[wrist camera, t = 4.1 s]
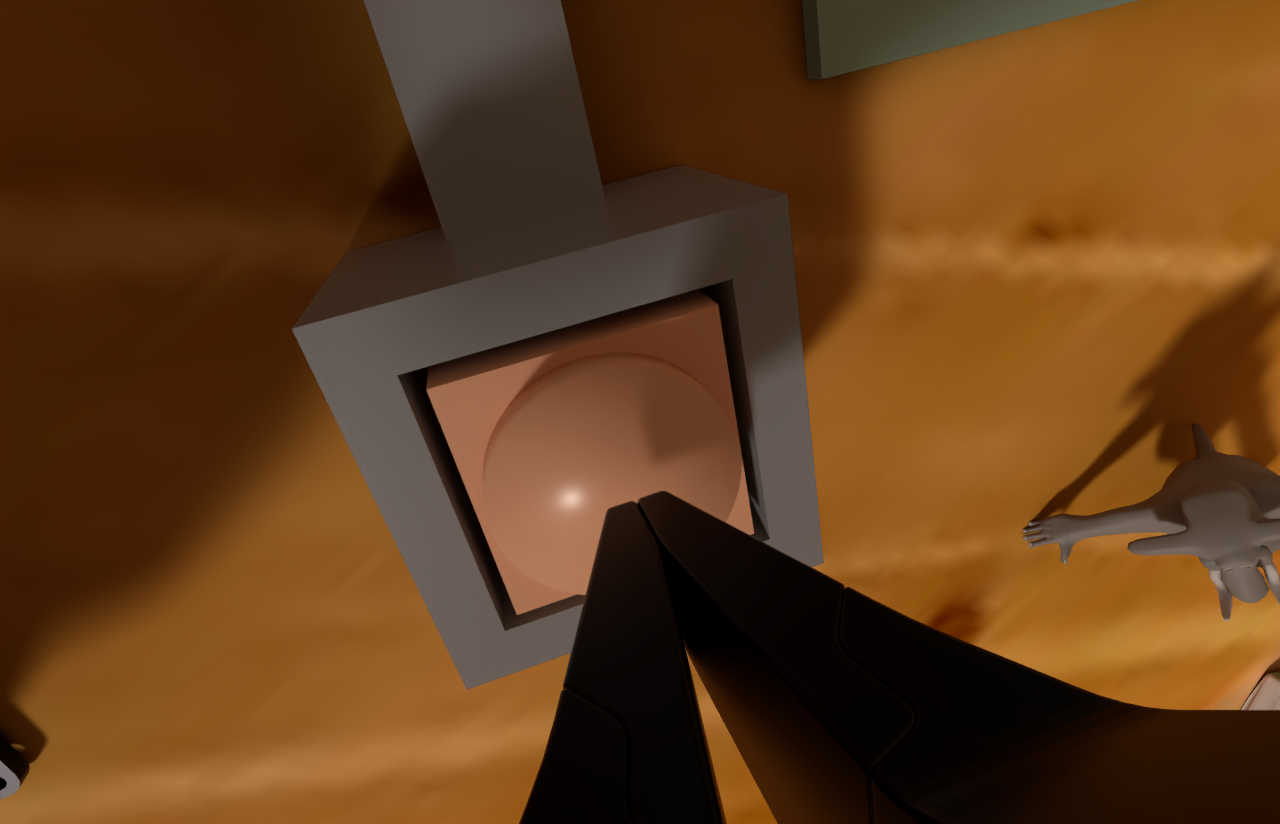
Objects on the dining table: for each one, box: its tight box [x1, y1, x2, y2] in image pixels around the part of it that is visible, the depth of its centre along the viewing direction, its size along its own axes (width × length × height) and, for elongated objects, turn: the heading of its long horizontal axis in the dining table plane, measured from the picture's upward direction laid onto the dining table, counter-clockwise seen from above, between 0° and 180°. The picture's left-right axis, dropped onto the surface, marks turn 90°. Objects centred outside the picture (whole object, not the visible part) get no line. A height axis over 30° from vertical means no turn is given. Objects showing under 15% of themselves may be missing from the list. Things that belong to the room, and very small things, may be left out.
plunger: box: [426, 289, 754, 615], centre depth 12 cm, size 4×4×6 cm
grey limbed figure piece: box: [1023, 424, 1280, 621], centre depth 20 cm, size 10×6×9 cm
